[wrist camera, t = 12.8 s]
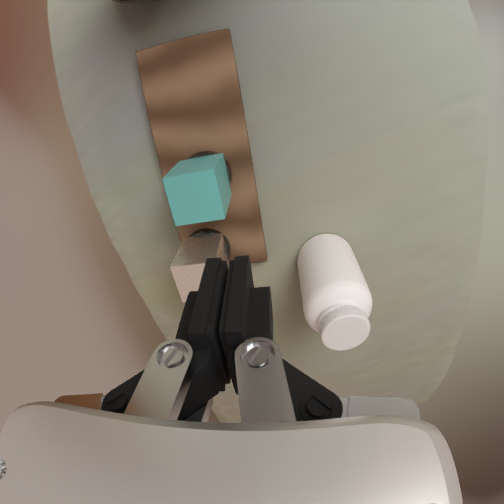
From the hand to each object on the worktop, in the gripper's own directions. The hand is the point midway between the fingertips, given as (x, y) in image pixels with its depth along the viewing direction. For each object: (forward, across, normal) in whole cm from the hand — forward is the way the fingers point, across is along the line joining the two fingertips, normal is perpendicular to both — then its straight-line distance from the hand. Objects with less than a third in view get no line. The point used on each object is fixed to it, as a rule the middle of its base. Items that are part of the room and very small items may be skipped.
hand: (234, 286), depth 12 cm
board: (+26, +6, +1) cm, 27 cm away
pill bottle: (+26, -8, +17) cm, 32 cm away
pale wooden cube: (+26, +8, +13) cm, 30 cm away
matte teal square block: (+24, +6, +3) cm, 25 cm away
